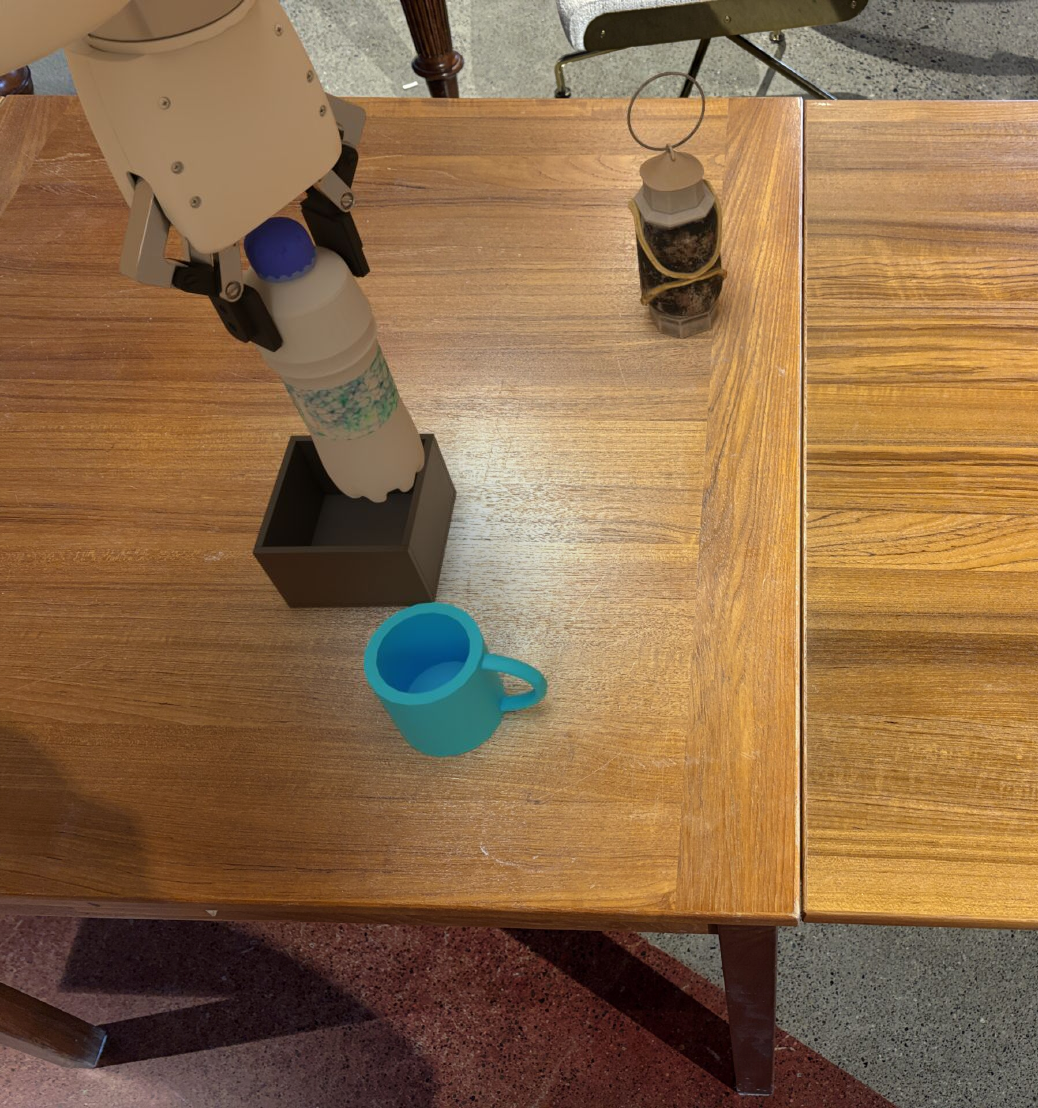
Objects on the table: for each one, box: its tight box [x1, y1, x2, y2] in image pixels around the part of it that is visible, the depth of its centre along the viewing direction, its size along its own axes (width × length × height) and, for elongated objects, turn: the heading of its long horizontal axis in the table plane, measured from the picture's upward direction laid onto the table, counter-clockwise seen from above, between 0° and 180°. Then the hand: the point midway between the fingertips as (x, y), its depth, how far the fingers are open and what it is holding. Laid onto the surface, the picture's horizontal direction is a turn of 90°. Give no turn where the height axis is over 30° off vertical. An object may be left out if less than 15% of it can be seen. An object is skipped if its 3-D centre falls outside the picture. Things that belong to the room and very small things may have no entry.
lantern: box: [626, 70, 728, 339], centre depth 94 cm, size 9×8×25 cm
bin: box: [252, 432, 457, 609], centre depth 86 cm, size 12×12×8 cm
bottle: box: [242, 216, 424, 502], centre depth 63 cm, size 7×7×20 cm
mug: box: [362, 601, 548, 758], centre depth 77 cm, size 12×8×8 cm
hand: (303, 301), depth 59 cm, fingers closed on bottle, 6 cm apart
